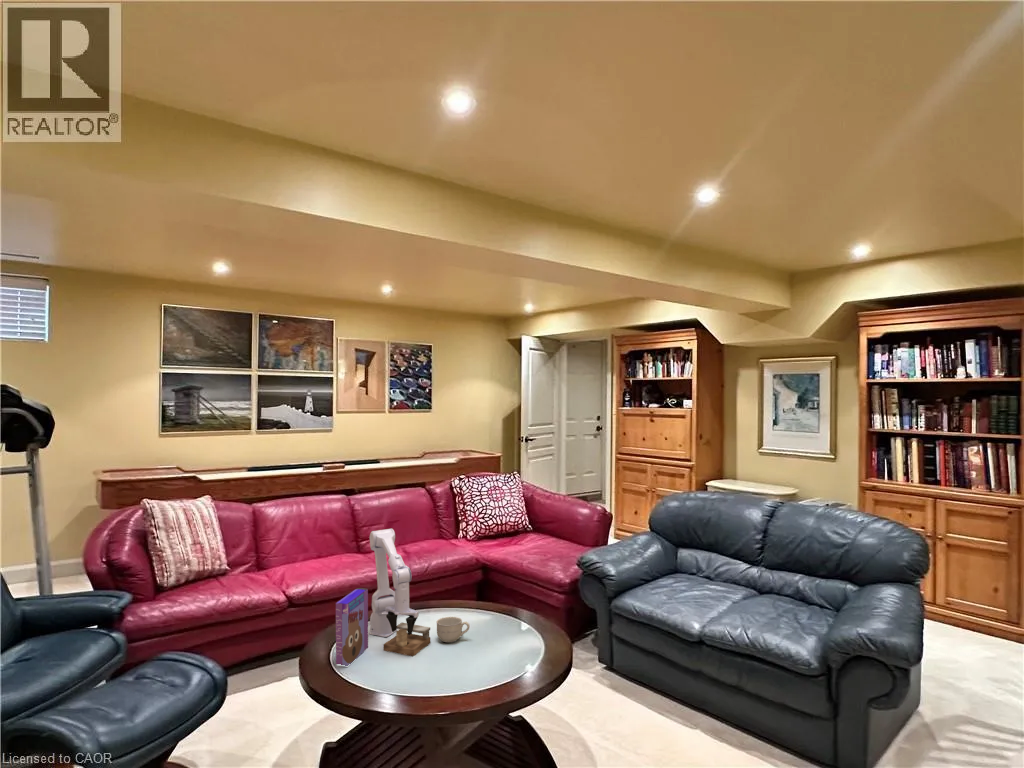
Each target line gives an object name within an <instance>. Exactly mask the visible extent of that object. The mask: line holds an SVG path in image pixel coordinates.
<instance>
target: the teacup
mask: <svg viewBox="0 0 1024 768" xmlns="http://www.w3.org/2000/svg"><path fill="white" fill-rule="evenodd" d="M464 625H465V626H466V629H465V630H463V627H464ZM469 630H470V623H469V621H463V619H462V618H460V617H457V616H447V617H446V616H445V617H442V618H439V619H437V620H436V634H437V637H438V638H439V639H440V641H442V642H445V643H453V642H457V641H458V640H459V638H461V637H462V636H464V634H466V633H467V632H468V631H469Z"/></svg>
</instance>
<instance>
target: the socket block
mask: <svg viewBox="0 0 1024 768" xmlns="http://www.w3.org/2000/svg"><path fill="white" fill-rule="evenodd" d="M400 629H405V630H407V645H406V646H405V647H400V646H397V638H396V635H395V636H393V638H391V639H389V640H388V641H386V642H385V643H383V644H382V645H383V651H385V652H389V653H395V654H399V655H404V656H408V657H414V656H416V655H417V654H418V653H420V652H421V651H422V650H424V649H425V648H426V647H428V646H429V645H430V644H431V636H430V631H431V627H430V626H425V625H418V624H414V627H413V631H412V634H410V635H408V627H407V622H400V623H399V624H398V625H397V630H400ZM420 634H422V635H420Z"/></svg>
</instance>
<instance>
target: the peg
mask: <svg viewBox="0 0 1024 768" xmlns="http://www.w3.org/2000/svg"><path fill="white" fill-rule="evenodd" d="M395 633H396V635H395V636H396V638H397V646H400V647H405V646H406V645H407V633H408V631H407V630H405V629H397V631H396V632H395Z"/></svg>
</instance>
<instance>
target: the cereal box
mask: <svg viewBox="0 0 1024 768" xmlns="http://www.w3.org/2000/svg"><path fill="white" fill-rule="evenodd" d="M368 593H369V591H368V588H364V587H357V588H355V589H354V590H352V591H350V593H348V594H347V595H345V596H344V597H343V598H341V599H340V600H338V601H337V602H335V665H336V664H341V665H345V666H348V665H349V664H351V663H352V662H353V661H354V660H355V659H356V660H357V659H358V658H359V657H360V656H361V655H363V653H364V652H365V651H366V650H367V649H368V648H369V594H368ZM356 660H355V661H356ZM355 661H354V662H355ZM354 662H353V663H354ZM353 663H352V664H353ZM352 664H351V665H352Z"/></svg>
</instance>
